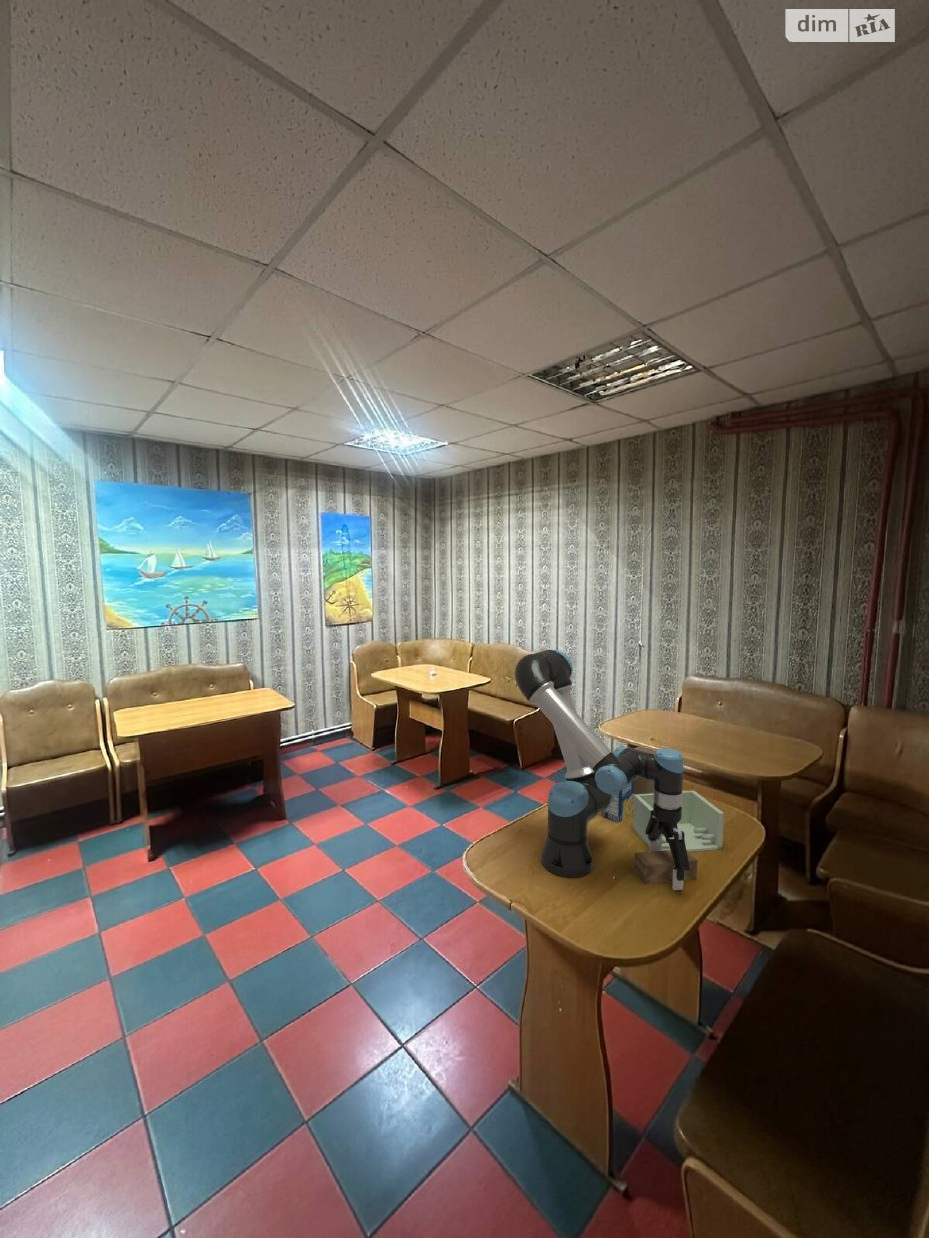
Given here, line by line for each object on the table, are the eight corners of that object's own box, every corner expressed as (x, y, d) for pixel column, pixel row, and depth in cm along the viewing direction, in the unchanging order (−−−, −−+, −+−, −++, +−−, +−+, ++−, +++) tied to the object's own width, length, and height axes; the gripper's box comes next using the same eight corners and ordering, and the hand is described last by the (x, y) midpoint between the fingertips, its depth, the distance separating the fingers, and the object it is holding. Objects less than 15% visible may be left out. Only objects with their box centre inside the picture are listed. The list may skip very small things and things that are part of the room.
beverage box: (600, 816, 178) (602, 757, 176) (616, 805, 186) (617, 749, 183) (618, 823, 173) (619, 762, 171) (633, 812, 181) (635, 754, 179)
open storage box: (656, 854, 154) (658, 817, 153) (632, 828, 170) (633, 794, 168) (722, 849, 157) (723, 812, 156) (692, 823, 173) (693, 790, 171)
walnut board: (644, 885, 140) (644, 865, 139) (633, 872, 145) (634, 853, 145) (696, 879, 142) (697, 860, 141) (684, 867, 148) (685, 848, 147)
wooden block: (637, 794, 195) (638, 745, 193) (660, 803, 187) (662, 752, 185) (622, 802, 189) (624, 751, 187) (646, 811, 181) (648, 759, 179)
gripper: (706, 824, 130) (702, 901, 132) (657, 784, 154) (655, 849, 156) (679, 827, 129) (676, 904, 131) (634, 786, 153) (633, 851, 155)
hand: (665, 874), depth 144 cm, fingers open, 12 cm apart
